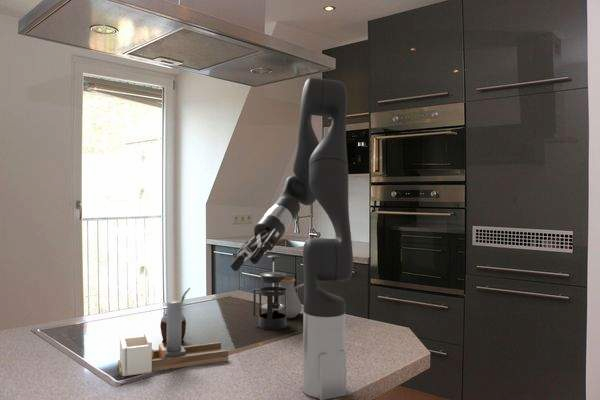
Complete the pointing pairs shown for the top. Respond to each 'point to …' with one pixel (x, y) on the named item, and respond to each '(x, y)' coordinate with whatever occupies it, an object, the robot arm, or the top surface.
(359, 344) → the top surface
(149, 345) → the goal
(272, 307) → the french press
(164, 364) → the track
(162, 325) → the mate gourd
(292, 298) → the coffee pot
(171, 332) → the grey tall cylindrical piece
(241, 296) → the top surface
